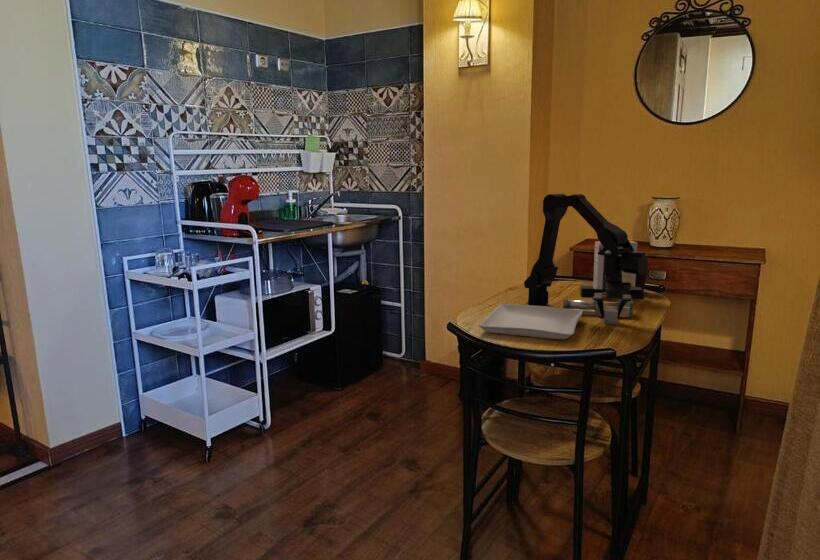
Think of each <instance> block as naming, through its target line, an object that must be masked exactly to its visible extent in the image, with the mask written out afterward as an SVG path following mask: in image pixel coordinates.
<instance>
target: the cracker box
mask: <svg viewBox="0 0 820 560" xmlns="http://www.w3.org/2000/svg"><path fill="white" fill-rule="evenodd" d="M629 242H630V244H631V245H632V247H633V249H634V252H638V242H637V241H634V240H629ZM603 248H604V247H603V246H602V244H601V243H600V241H599V240H598V241H597V240H596V241H594V254H593V255H594V257H593V260H594V261H593V281H592V283H593V284H592V286H593V287H594V289H602V279H603V261H604V255H598V252H599V251H601V250H602V249H603ZM622 248H623V247H622ZM618 249H621V248H618ZM635 278H636V274H631V273H625V272H623V271H622V282H623V283H624V282H625V283H630V287H635ZM602 298H603V299H608V298H607V297H606V295H602ZM630 299H633V298H632V297H630Z"/></svg>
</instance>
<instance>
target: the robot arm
mask: <svg viewBox="0 0 820 560" xmlns="http://www.w3.org/2000/svg"><path fill="white" fill-rule="evenodd" d="M569 207H572V208H573V209H574V210H575V211H576V212H577V213H578V215H580V217H582V219H583V220H584V221H585V222H586V223H587V224H588V225H589V227H591V228H592V229H593V230H594V231H595V233H596V237H597V240H598V241H600V243H601V244H602V246H603V247H604V248H603V249H602V250H601V251H599V252H598V255H604V261H603V279H602V289H594V287H593V285H582V284H581V286H579V296H580V298H586V299H587V298H588V299H589V298H590V299H592V301H594V300H596V301H597V304H598V306H599V310H600V314H601V316H600V317H601V320H602V319H603V317H604V311H603V302H604V298H602V295H606V297H607V298H606V299H617V302H618V304H617V311H618V318H617V320H619V318H620V317H619V316H620V313H621V311H622V309H623V307H624V305H625V304H626V303H627V302H630V301H631V300H645V291H643V290H642V289H641V288H640V287H630V283H625V282H624V283H623V282H622V271H623V272H625V273H631V274H637V275H644V274H645V273H646V272H647V269H648V270H649V264H650V263H649V261H648V257H647V256H646V252H644V251H637V252H634V249H633V247H632V245H631V244H630V242H629V241H630V240H629V239H628V237H629V235H628V233H627V232H626V231H625V230H623V229H622V228H621V227H619V226H618V225H616V224H614V223H612V222H610V221H608V220H607V219H606V217H604V216H603V215H602V214H601V212H599V210H597V209H596V207H595V206H594V205H593V204H591V202H590V201H589V200H588V199H587V198H586V196H585V195H584V194H582V193H575V194H571V195H566V194H565V193H549V194H547V195H546V196H544V198H543V201H542V213H543V215H544V227H543V230H542V231H543V232H542V235H541V242H540V248H539V255H538V258H537V260H536V261H535V263H534V264H533V266H532V268H531V271H530V274H529V276H528V277H527V278H526V279H525V280H524V282H523V284H524V285H523V286H524V288H525V289H528V298H527V299H528V300H527V305H533V306H545V307H548V304H549V291H548V287H551V286H552V283H553V282H554V280H555V278H557V273H558V270H559V267H558V266H556V265H555V264H554V263H555V262H554V255H555V251H556V245H557V242H558V241H557V239H558V235H559V231H560V230H559V228H560V224H561V220H562V219H563V218H564V216H565V215H566V214H567V211H568V208H569ZM622 247H623V248H622ZM618 248H621V249H618ZM647 273H648V272H647ZM630 297H632V298H630Z"/></svg>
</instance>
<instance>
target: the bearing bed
mask: <svg viewBox="0 0 820 560" xmlns="http://www.w3.org/2000/svg"><path fill="white" fill-rule="evenodd" d="M593 301H596V300H593ZM617 304H618V301H603V308H616V309H617ZM573 310H581V311H583V313H582V315H585V316H586V315H587V316H596V317H601V314H600V310H599V306H598V304H597V301H596V310H582V309H573ZM633 314H634V302H633V299H631V301H630V302H627V303H626V304H625V305H624V307H623V309H622V311H621V313H620V316H619V318H633ZM582 315H581V316H582Z"/></svg>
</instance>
